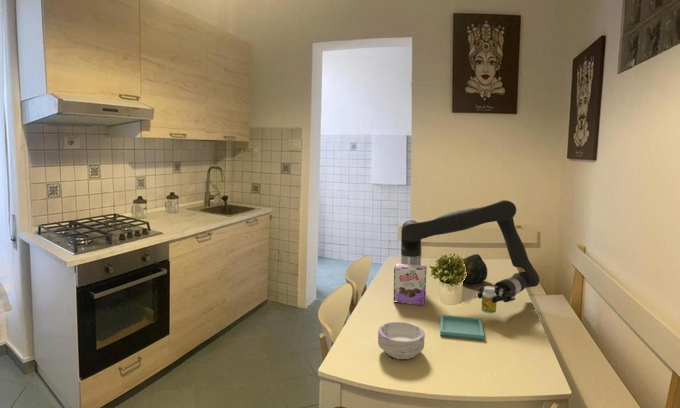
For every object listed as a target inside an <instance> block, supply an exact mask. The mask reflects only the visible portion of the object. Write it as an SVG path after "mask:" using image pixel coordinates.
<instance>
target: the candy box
mask: <svg viewBox="0 0 680 408" xmlns="http://www.w3.org/2000/svg"><path fill="white" fill-rule="evenodd" d="M393 268H394V269H393V302H394V301H397V302H404V303H411V304H410V305H414V304H419V305H418V306H426V303H425V302H427V300H426V299H427V297H426V296H427V295H426V293H427V271H428V270H427V265H422V264H421V265H407V264H401V263H395V265H394V267H393ZM404 303H403V304H404Z"/></svg>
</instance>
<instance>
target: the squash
mask: <svg viewBox="0 0 680 408" xmlns="http://www.w3.org/2000/svg"><path fill="white" fill-rule="evenodd" d="M462 260H463V261H464V264H465V266H466V272H467V276H466V278H465V280H464V282H463V283H465V284H466V283H467V284H471V283H474V284H475V283H476V284H478V283H484V282H485V280H487V278H488V267H487V264H486V263H485V261H484V260H483V258H482V257H481V255H480V254H478V253H477V254H476V253H475V254H472V255H468V256H467V257H465V258H464V259H462Z"/></svg>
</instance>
